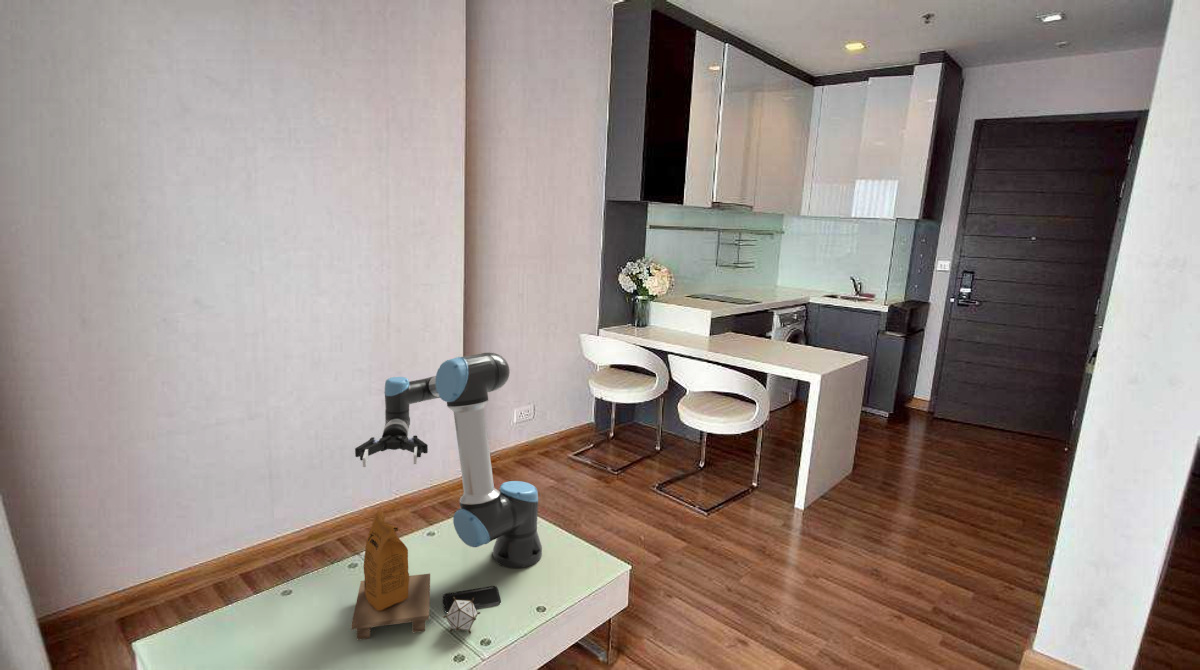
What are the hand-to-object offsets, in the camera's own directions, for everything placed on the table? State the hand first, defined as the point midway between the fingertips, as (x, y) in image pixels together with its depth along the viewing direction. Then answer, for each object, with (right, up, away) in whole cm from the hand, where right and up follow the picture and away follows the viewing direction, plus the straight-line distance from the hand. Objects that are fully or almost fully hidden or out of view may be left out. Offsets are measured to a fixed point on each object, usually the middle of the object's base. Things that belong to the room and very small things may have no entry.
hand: (389, 461), depth 165 cm
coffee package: (+4, -32, -13) cm, 35 cm away
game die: (+24, -39, -17) cm, 49 cm away
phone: (+24, -37, -5) cm, 45 cm away
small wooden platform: (+6, -37, -13) cm, 40 cm away
